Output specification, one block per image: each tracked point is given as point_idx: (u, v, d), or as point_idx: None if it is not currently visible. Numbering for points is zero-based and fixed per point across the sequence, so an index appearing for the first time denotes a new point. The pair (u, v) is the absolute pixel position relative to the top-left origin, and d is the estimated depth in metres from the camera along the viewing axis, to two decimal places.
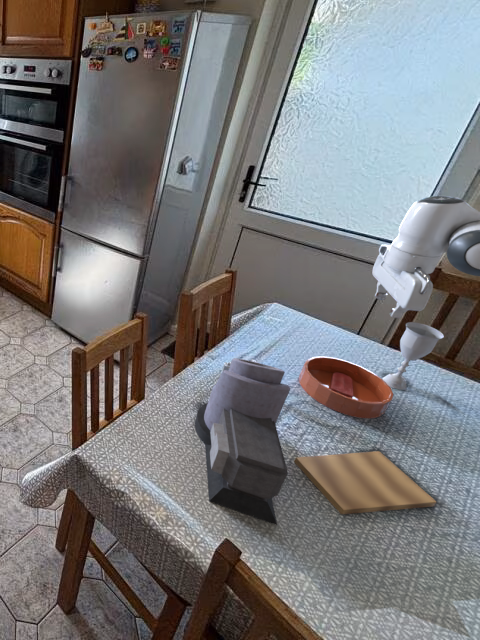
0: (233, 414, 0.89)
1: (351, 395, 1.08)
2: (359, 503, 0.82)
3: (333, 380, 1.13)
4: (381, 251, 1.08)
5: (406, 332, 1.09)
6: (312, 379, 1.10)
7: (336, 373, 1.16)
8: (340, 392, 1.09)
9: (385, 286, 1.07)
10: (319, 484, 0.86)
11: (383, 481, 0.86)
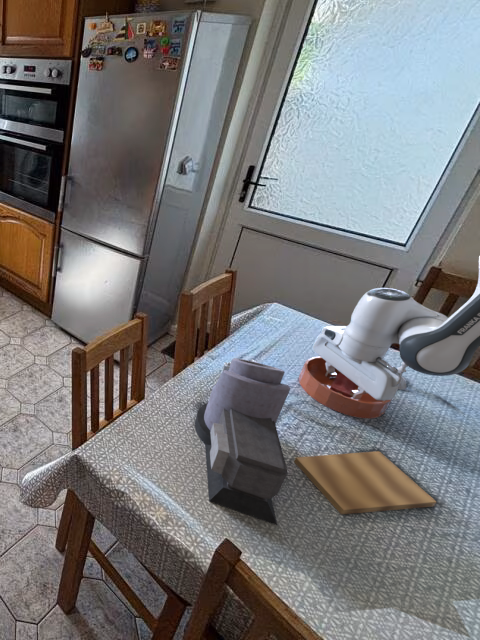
0: (233, 414, 0.89)
1: None
2: (359, 503, 0.82)
3: (335, 379, 1.13)
4: (327, 334, 1.11)
5: None
6: (312, 379, 1.10)
7: (341, 374, 1.16)
8: (339, 391, 1.10)
9: (340, 369, 1.09)
10: (319, 484, 0.86)
11: (383, 481, 0.86)
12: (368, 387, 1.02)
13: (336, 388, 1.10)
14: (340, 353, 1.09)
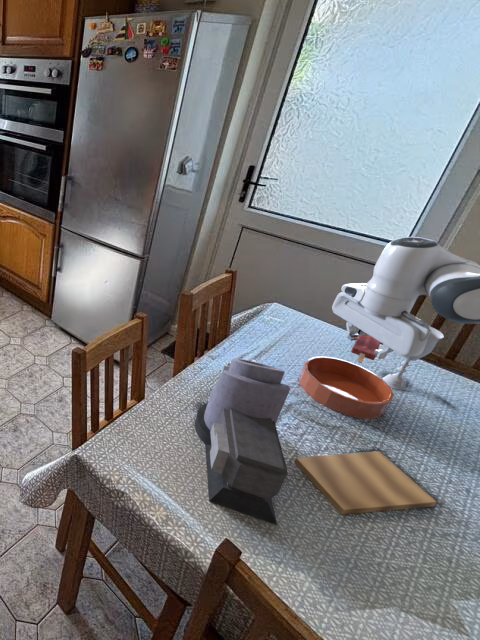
0: (233, 414, 0.89)
1: None
2: (359, 503, 0.82)
3: (357, 340, 1.07)
4: (347, 292, 1.05)
5: None
6: (312, 379, 1.10)
7: (363, 335, 1.09)
8: (362, 351, 1.04)
9: (362, 328, 1.03)
10: (319, 484, 0.86)
11: (383, 481, 0.86)
12: (394, 343, 0.96)
13: (358, 348, 1.04)
14: (362, 311, 1.03)
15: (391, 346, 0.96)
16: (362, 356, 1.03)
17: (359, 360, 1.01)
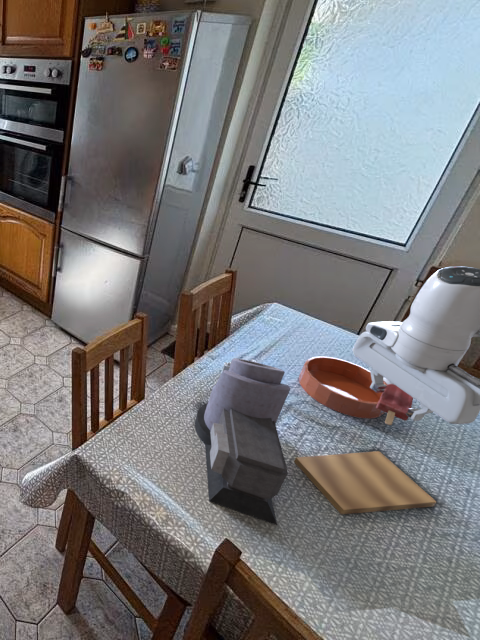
0: (233, 414, 0.89)
1: None
2: (359, 503, 0.82)
3: (384, 393, 0.85)
4: (374, 333, 0.83)
5: None
6: (312, 379, 1.10)
7: (391, 385, 0.88)
8: (391, 408, 0.82)
9: (393, 380, 0.81)
10: (319, 484, 0.86)
11: (383, 481, 0.86)
12: (436, 405, 0.74)
13: (386, 404, 0.82)
14: (393, 358, 0.81)
15: (432, 408, 0.75)
16: (391, 415, 0.81)
17: (388, 421, 0.79)
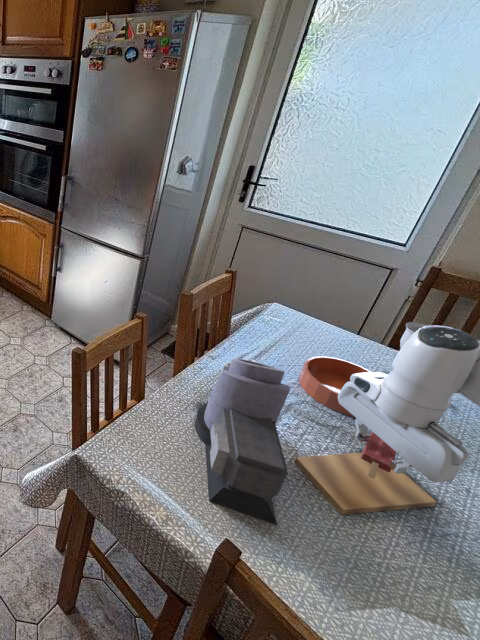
0: (233, 414, 0.89)
1: None
2: (359, 503, 0.82)
3: (369, 442, 0.87)
4: (358, 384, 0.84)
5: (406, 332, 1.09)
6: (312, 379, 1.10)
7: None
8: (375, 459, 0.83)
9: (376, 432, 0.82)
10: (319, 484, 0.86)
11: (383, 481, 0.86)
12: (417, 461, 0.75)
13: (370, 455, 0.84)
14: (376, 410, 0.82)
15: (414, 464, 0.76)
16: (375, 467, 0.82)
17: (371, 474, 0.81)
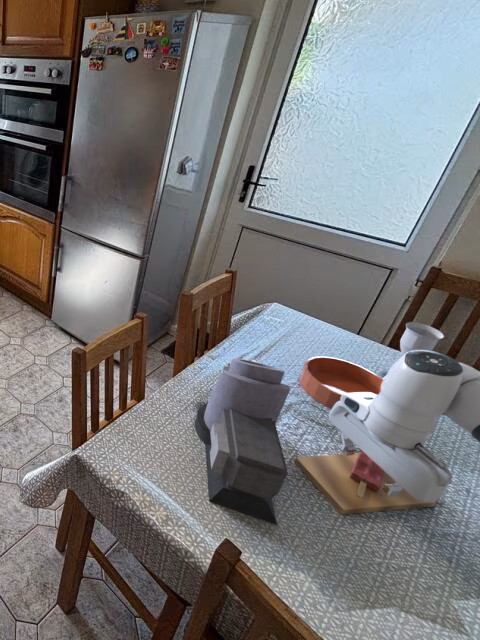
0: (233, 414, 0.89)
1: (377, 485, 0.84)
2: (359, 503, 0.82)
3: (358, 461, 0.89)
4: (348, 404, 0.86)
5: (406, 332, 1.09)
6: (312, 379, 1.10)
7: None
8: (363, 479, 0.85)
9: (365, 451, 0.85)
10: (319, 484, 0.86)
11: (383, 481, 0.86)
12: (404, 481, 0.78)
13: (359, 475, 0.86)
14: (365, 430, 0.85)
15: (401, 483, 0.78)
16: (363, 486, 0.84)
17: (359, 493, 0.83)
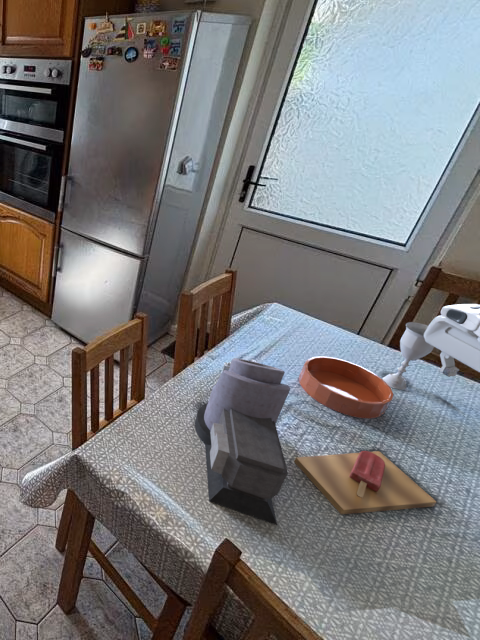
0: (233, 414, 0.89)
1: (377, 485, 0.84)
2: (359, 503, 0.82)
3: (358, 461, 0.89)
4: (451, 317, 0.78)
5: (406, 332, 1.09)
6: (312, 379, 1.10)
7: (365, 452, 0.91)
8: (363, 479, 0.85)
9: (475, 366, 0.76)
10: (319, 484, 0.86)
11: (383, 481, 0.86)
12: None
13: (359, 475, 0.86)
14: (474, 343, 0.76)
15: None
16: (363, 486, 0.84)
17: (359, 493, 0.83)
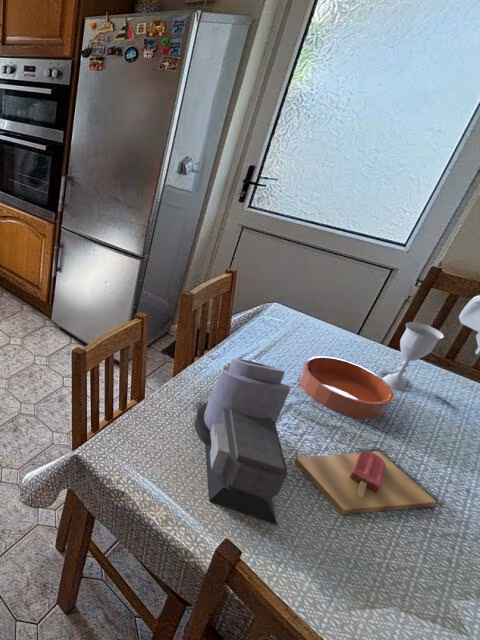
0: (233, 414, 0.89)
1: (377, 485, 0.84)
2: (359, 503, 0.82)
3: (358, 461, 0.89)
4: None
5: (406, 332, 1.09)
6: (312, 379, 1.10)
7: (365, 452, 0.91)
8: (363, 479, 0.85)
9: None
10: (319, 484, 0.86)
11: (383, 481, 0.86)
12: None
13: (359, 475, 0.86)
14: None
15: None
16: (363, 486, 0.84)
17: (359, 493, 0.83)
